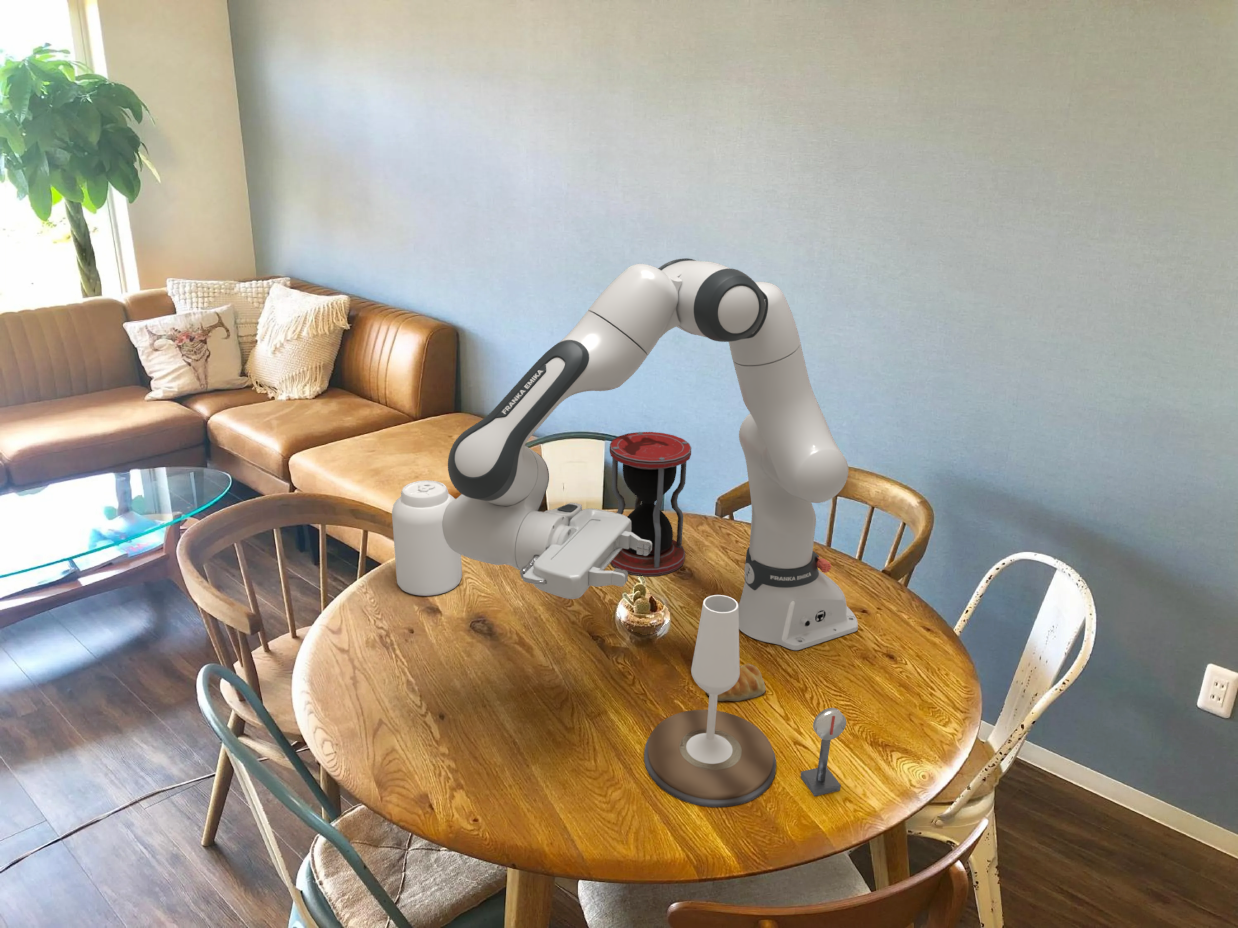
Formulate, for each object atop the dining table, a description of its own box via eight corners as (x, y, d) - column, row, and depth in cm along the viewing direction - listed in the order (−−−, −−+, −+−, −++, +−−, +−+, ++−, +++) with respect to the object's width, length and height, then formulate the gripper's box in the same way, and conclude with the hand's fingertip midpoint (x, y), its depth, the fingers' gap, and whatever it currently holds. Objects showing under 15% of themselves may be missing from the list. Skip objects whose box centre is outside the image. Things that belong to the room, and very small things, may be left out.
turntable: (741, 708, 145) (742, 698, 144) (799, 790, 128) (801, 779, 127) (626, 730, 139) (627, 719, 138) (672, 819, 122) (673, 807, 122)
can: (412, 562, 186) (406, 471, 178) (471, 570, 184) (467, 478, 176) (385, 592, 175) (378, 496, 167) (448, 601, 172) (443, 504, 165)
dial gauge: (826, 771, 132) (836, 697, 127) (841, 790, 128) (852, 715, 124) (799, 777, 131) (808, 703, 126) (813, 796, 127) (823, 721, 122)
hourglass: (670, 536, 200) (676, 428, 190) (695, 572, 185) (703, 457, 176) (598, 544, 196) (600, 433, 186) (618, 580, 181) (622, 463, 172)
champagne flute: (685, 761, 130) (695, 615, 121) (686, 731, 136) (695, 589, 127) (733, 765, 130) (746, 618, 120) (732, 734, 136) (744, 592, 127)
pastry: (719, 711, 144) (720, 690, 143) (696, 687, 150) (698, 667, 149) (768, 695, 148) (770, 676, 147) (745, 673, 154) (746, 654, 153)
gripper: (512, 556, 121) (610, 577, 116) (576, 497, 139) (663, 513, 134) (514, 598, 123) (609, 620, 119) (576, 535, 141) (662, 552, 136)
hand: (638, 563), depth 126 cm, fingers open, 8 cm apart
